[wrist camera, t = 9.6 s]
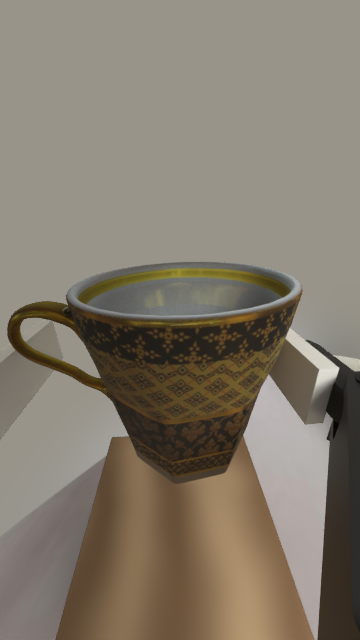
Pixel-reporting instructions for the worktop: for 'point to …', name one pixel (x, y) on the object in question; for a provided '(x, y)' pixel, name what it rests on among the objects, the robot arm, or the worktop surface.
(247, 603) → the tower top block
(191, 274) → the ceramic cup
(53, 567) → the worktop surface
